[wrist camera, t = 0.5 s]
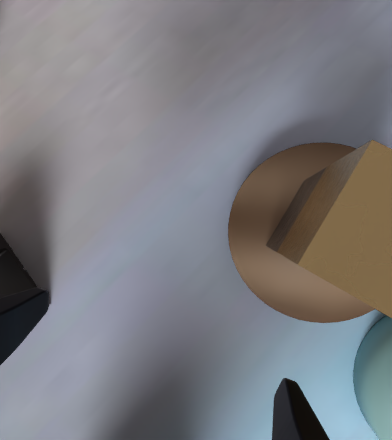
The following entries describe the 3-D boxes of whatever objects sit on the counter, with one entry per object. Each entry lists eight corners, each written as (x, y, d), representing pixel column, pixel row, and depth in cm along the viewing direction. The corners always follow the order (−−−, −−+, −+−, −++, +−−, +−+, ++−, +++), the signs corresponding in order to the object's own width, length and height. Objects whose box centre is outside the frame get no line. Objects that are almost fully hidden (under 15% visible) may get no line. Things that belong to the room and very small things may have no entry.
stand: (384, 318, 20) (410, 334, 17) (222, 298, 22) (221, 310, 19) (397, 157, 20) (425, 146, 17) (234, 150, 22) (235, 139, 19)
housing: (334, 284, 18) (435, 343, 9) (265, 245, 19) (297, 264, 10) (375, 217, 18) (520, 211, 9) (303, 180, 18) (372, 139, 10)
